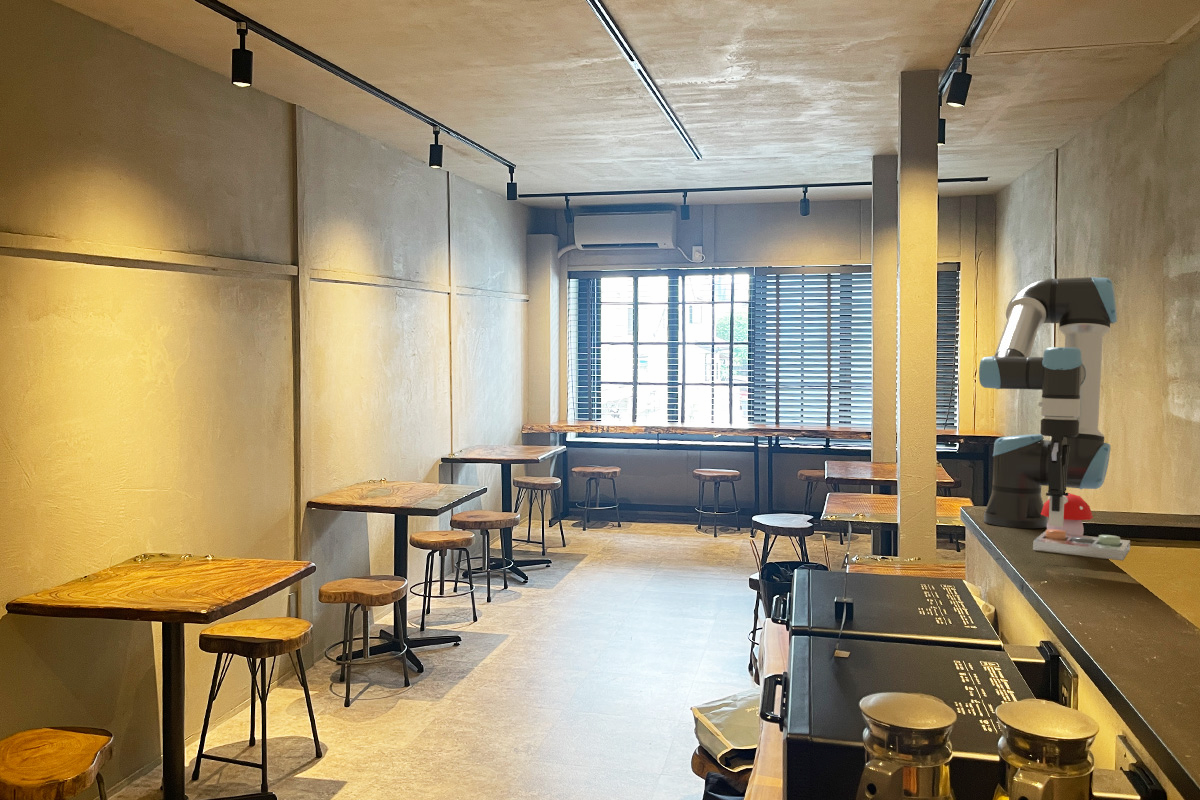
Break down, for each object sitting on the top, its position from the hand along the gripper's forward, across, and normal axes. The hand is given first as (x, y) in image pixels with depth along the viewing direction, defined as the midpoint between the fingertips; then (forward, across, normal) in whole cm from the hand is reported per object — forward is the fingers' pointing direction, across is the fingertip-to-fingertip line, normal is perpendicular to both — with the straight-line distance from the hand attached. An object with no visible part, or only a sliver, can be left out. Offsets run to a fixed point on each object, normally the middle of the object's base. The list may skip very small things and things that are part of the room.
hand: (1055, 525), depth 204 cm
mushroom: (+6, -14, 0) cm, 16 cm away
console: (+6, 0, +5) cm, 8 cm away
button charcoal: (+4, 0, +5) cm, 7 cm away
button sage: (+3, 0, +10) cm, 11 cm away
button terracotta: (+3, 0, 0) cm, 3 cm away
